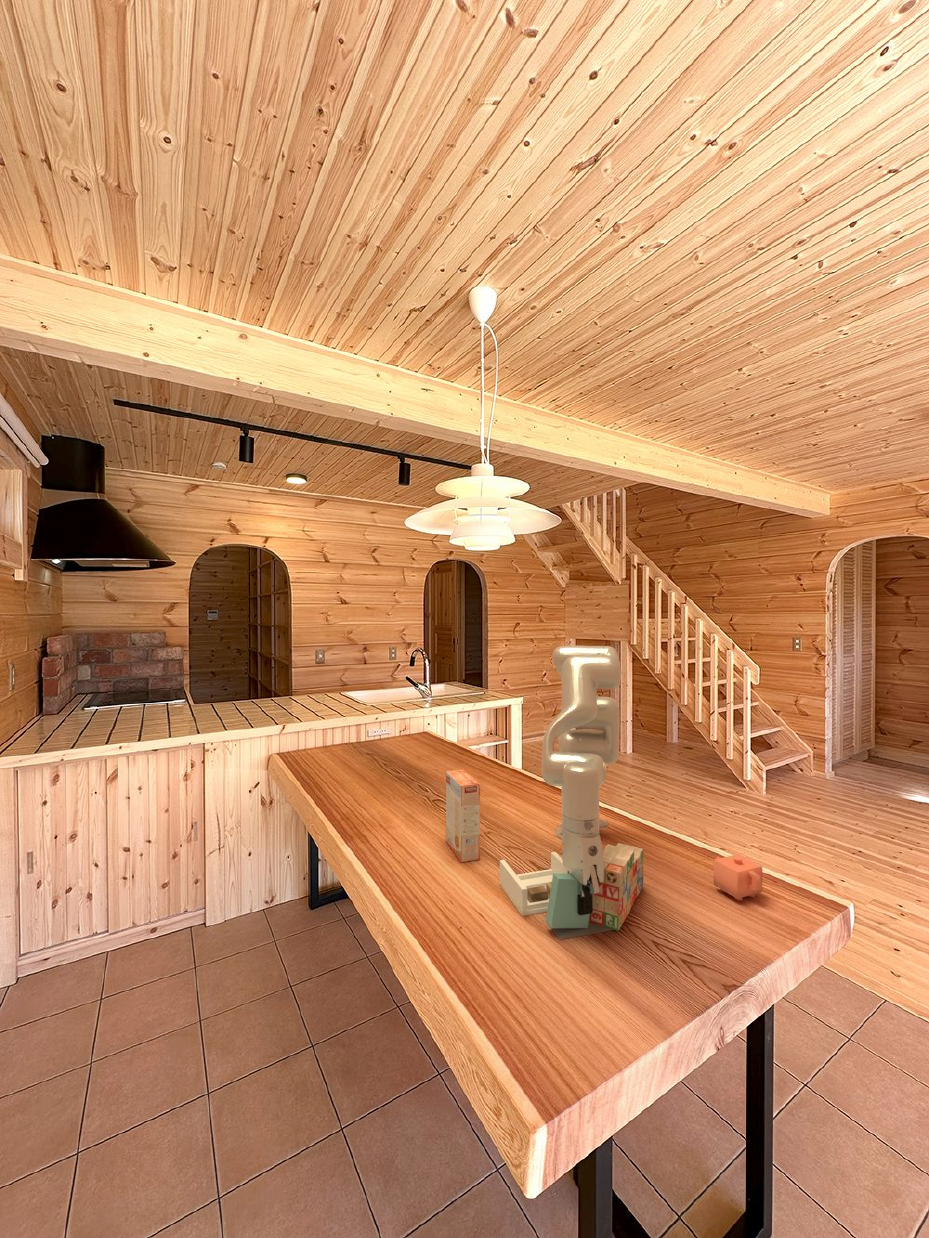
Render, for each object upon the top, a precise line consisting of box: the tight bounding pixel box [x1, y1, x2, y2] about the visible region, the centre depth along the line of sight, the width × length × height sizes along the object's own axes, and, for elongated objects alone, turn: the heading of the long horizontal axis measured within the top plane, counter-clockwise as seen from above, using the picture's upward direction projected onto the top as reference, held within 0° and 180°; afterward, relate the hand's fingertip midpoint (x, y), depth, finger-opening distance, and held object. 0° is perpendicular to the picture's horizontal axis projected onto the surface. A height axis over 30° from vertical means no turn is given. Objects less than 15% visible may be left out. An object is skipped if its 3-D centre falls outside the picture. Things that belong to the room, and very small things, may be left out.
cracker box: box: [445, 769, 481, 863], centre depth 145 cm, size 14×6×21 cm, turn 18°
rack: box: [499, 851, 568, 917], centre depth 122 cm, size 15×14×6 cm
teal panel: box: [545, 873, 590, 929], centre depth 109 cm, size 10×2×8 cm
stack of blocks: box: [590, 842, 644, 932], centre depth 118 cm, size 21×6×12 cm, turn 148°
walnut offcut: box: [527, 886, 548, 903], centre depth 118 cm, size 4×2×2 cm, turn 107°
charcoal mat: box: [549, 915, 614, 941], centre depth 110 cm, size 13×6×1 cm, turn 107°
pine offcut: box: [546, 882, 552, 898], centre depth 119 cm, size 4×2×3 cm, turn 107°
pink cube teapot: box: [713, 854, 763, 902], centre depth 123 cm, size 8×12×8 cm, turn 21°
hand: (581, 908), depth 109 cm, fingers closed on teal panel, 2 cm apart
